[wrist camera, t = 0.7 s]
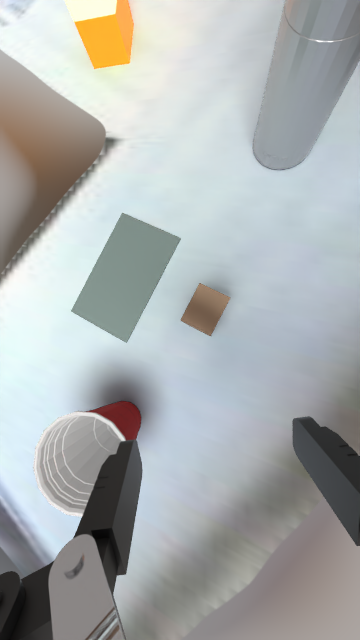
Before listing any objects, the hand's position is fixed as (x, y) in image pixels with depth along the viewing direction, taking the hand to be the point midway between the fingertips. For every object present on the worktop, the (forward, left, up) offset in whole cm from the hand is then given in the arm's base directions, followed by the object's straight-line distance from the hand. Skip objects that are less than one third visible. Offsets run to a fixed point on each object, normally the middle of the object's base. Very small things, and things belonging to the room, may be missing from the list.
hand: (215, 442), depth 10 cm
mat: (-7, -21, -21) cm, 31 cm away
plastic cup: (+14, -9, -22) cm, 27 cm away
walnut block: (-7, -5, -21) cm, 23 cm away
